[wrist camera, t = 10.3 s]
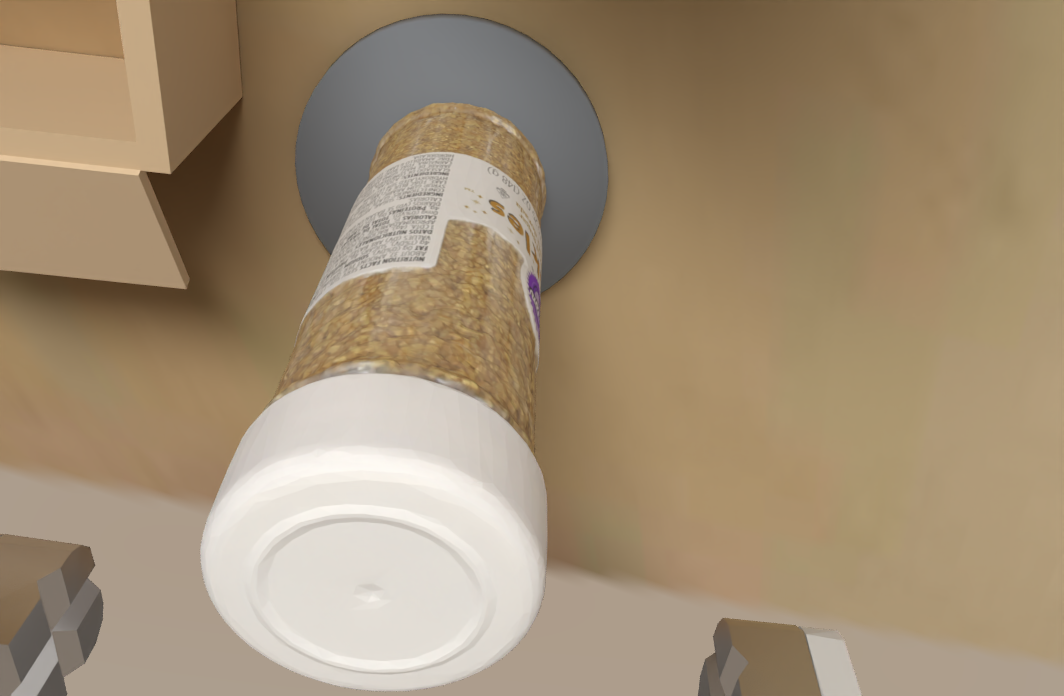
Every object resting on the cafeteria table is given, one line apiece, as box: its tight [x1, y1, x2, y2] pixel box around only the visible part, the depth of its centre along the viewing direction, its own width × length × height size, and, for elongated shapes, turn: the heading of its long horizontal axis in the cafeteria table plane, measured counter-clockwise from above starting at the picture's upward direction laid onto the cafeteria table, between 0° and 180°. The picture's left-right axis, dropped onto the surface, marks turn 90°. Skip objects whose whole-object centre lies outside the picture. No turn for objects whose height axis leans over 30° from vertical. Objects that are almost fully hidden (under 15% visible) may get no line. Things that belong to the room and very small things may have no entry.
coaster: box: [295, 14, 608, 293], centre depth 23 cm, size 8×8×1 cm
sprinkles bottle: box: [200, 102, 547, 691], centre depth 17 cm, size 5×5×13 cm
